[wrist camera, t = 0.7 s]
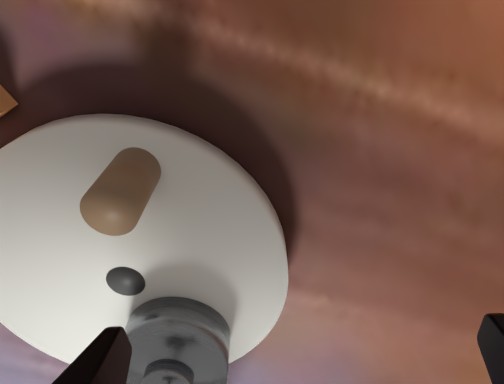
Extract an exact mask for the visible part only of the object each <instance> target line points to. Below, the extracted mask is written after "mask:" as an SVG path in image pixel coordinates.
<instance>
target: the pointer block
mask: <svg viewBox="0 0 504 384" xmlns="http://www.w3.org/2000/svg"><path fill="white" fill-rule="evenodd" d="M17 105H18V103H17V102H16V101H15V100H14V99H13V98H12V96H11V95H10V94H9V93H8V92H7V91H6V90H5V89H4V88H3V87H2V86H1V85H0V117H2V116H3V115H4V114H6V113H7V112H9V111H10V110H11V109H13V108H14V107H15V106H17Z"/></svg>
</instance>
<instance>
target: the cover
mask: <svg viewBox="0 0 504 384" xmlns="http://www.w3.org/2000/svg"><path fill="white" fill-rule="evenodd" d="M125 332H126V334H127V336H128V338H129V341H130V343H131V346H132V356H131V361H130V366H129V372H128V377H127V382H126V384H226V381H227V373H228V361H229V349H230V329H229V326H228V324H227V322H226V320H225V319H224V318H223V316H222V315H221V314H220V313H219V312H217V311H216V310H215V309H213V308H212V307H210V306H208V305H207V304H204V303H202V302H200V301H197V300H194V299H190V298H184V297H161V298H156V299H152V300H149V301H147V302H145V303H143V304H141V305H140V306H138V307H137V308H136V309H135V310H134V311H133V312H132V314H131V315H130V317H129V319H128V322H127V324H126V327H125Z"/></svg>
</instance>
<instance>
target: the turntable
mask: <svg viewBox="0 0 504 384" xmlns="http://www.w3.org/2000/svg"><path fill="white" fill-rule="evenodd" d="M287 289H288V263H287V253H286V243H285V239H284V234H283V229H282V226H281V224H280V221H279V218H278V216H277V213H276V211H275V209H274V207H273V206H272V204H271V202H270V200H269V199H268V197H267V195H266V194H265V192H264V191H263V190H262V189H261V187H260V186H259V185H258V183H257V182H256V181H255V179H254V178H253V177H252V176H251V175H250V174H249V173H248V172H247V171H246V170H245V169H244V168H243V167H242V166H241V165H240V164H239V163H237V162H236V161H235V160H233V159H232V158H231V157H229V156H228V155H227V154H226V153H224V152H223V151H222V150H220V149H219V148H217V147H215V146H214V145H212V144H210V143H209V142H207V141H205V140H204V139H202V138H200V137H198V136H196V135H194V134H191V133H189V132H187V131H185V130H182V129H180V128H178V127H175V126H172V125H169V124H165V123H162V122H159V121H156V120H152V119H147V118H142V117H136V116H131V115H121V114H103V113H101V114H88V115H77V116H72V117H67V118H63V119H58V120H54V121H51V122H49V123H46V124H43V125H41V126H38V127H35V128H34V129H32V130H30V131H28V132H27V133H25V134H23V135H21V136H20V137H18V138H16V139H15V140H13V141H12V142H10V143H9V144H7V145H5V146H4V147H2V148H1V149H0V322H1V323H2V324H3V325H4V326H5V327H7V328H8V329H9V330H10V331H12V332H13V333H14V334H15V335H17V336H18V337H20V338H21V339H23V340H24V341H26V342H27V343H29V344H30V345H32V346H33V347H35V348H37V349H39V350H41V351H42V352H44V353H46V354H48V355H50V356H52V357H55V358H57V359H59V360H61V361H63V362H66V363H69V364H71V363H72V362H73V361H74V360H75V359H76V358H77V357H78V356H79V355H80V354H81V353H82V352H83V351H84V350H85V348H86V347H87V346H88V345H89V344H90V343H91V342H92V341H93V340H94V339H95V338H96V337H97V336H98V335H99V334H100V333H101V332H102V331H103V330H104V329H105V328H107V327H111V326H121V327H123V328H124V330H125V327H126V324H127V322H128V319H129V317H130V315H131V314H132V312H133V311H134V310H135V309H136V308H137V307H138V306H140V305H141V304H143V303H145V302H147V301H149V300H152V299H156V298H161V297H184V298H190V299H194V300H197V301H200V302H202V303H204V304H207V305H208V306H210V307H212V308H213V309H215V310H216V311H217V312H219V313H220V314H221V315H222V316H223V318H224V319H225V320H226V322H227V324H228V326H229V329H230V349H229V361H228V364H229V363H231V362H233V361H235V360H237V359H238V358H240V357H242V356H244V355H245V354H246V353H248V352H249V351H250V350H252V349H253V348H255V347H256V346H257V345H258V344H259V343H260V342H261V341H262V340H263V339H264V338H265V337H266V336H267V335H268V333H269V332H270V331H271V329H272V328H273V327H274V325H275V324H276V322H277V320H278V318H279V316H280V314H281V312H282V309H283V306H284V303H285V300H286V296H287Z"/></svg>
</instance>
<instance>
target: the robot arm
mask: <svg viewBox="0 0 504 384" xmlns="http://www.w3.org/2000/svg"><path fill="white" fill-rule="evenodd" d="M477 341H478V345H479V348H480V351H481V354H482V356H483V359H484V362H485V365H486V368H487V370H488V373H489V376H490V379H491V382H492V384H504V314H503V313H490V314H486V315H485V316H484V318H483V320H482V323H481V326H480V329H479V331H478V334H477ZM131 356H132V346H131V343H130V341H129V338H128V336H127V334H126V332H125V330H124V328H123V327H121V326H111V327H107V328H105V329H104V330H103V331H102V332H101V333H100V334H99V335H98V336H97V337H96V338H95V339H94V340H93V341H92V342H91V343H90V344H89V345H88V346H87V347H86V348H85V350H84V351H83V352H82V353H81V354H80V355H79V356H78V357H77V358H76V359H75V360H74V361H73V362H72V363H71V364H70V365H69V366H68V367H67V368H66V369H65V370H64V371H63V372H62V373H61V374H60V376H59V377H58V378H57V379H56V380H55V381H54V382H53V383H52V384H126V382H127V377H128V372H129V366H130V361H131Z"/></svg>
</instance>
